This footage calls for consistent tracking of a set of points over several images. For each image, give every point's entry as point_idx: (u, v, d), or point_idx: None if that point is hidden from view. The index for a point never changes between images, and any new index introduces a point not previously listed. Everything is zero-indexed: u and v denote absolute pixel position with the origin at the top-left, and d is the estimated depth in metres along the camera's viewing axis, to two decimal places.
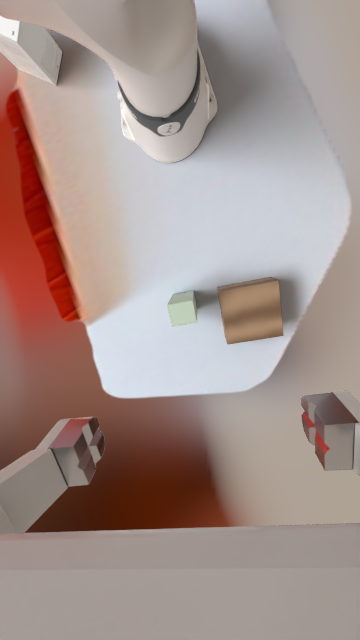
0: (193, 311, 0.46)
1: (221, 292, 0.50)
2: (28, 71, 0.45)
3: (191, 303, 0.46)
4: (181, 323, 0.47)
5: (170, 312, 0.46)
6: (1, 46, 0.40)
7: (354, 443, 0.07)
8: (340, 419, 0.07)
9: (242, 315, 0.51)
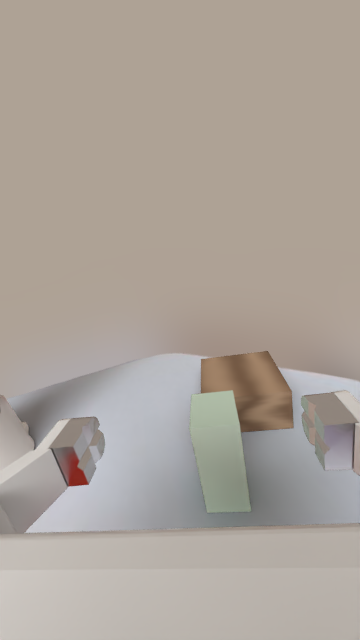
0: (211, 393, 0.26)
1: None
2: None
3: (196, 395, 0.26)
4: (232, 409, 0.23)
5: (206, 424, 0.22)
6: None
7: (354, 443, 0.07)
8: (340, 419, 0.07)
9: (240, 379, 0.36)
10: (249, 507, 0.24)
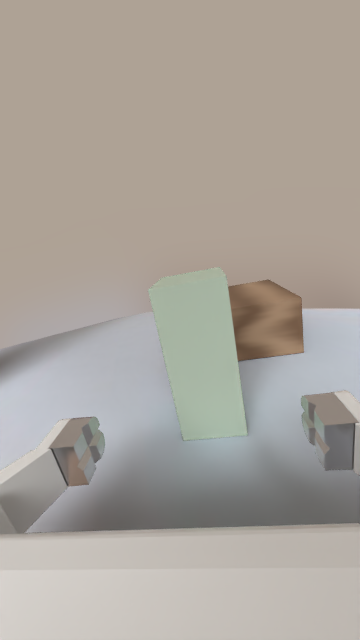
0: (189, 273, 0.18)
1: None
2: None
3: (168, 277, 0.18)
4: (217, 272, 0.15)
5: (174, 284, 0.14)
6: None
7: (354, 443, 0.07)
8: (340, 419, 0.07)
9: (234, 298, 0.28)
10: (245, 428, 0.16)
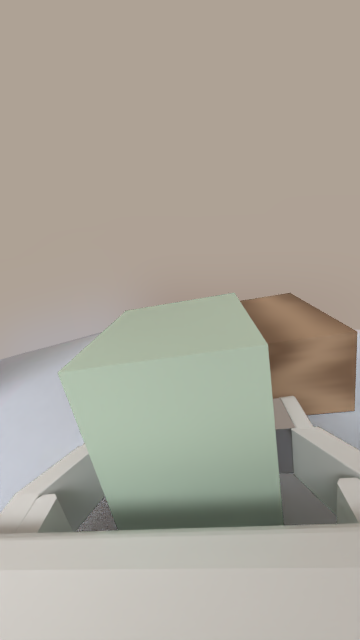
0: (176, 303, 0.09)
1: None
2: None
3: (136, 310, 0.10)
4: (235, 316, 0.07)
5: (128, 357, 0.05)
6: None
7: (292, 448, 0.07)
8: (279, 424, 0.07)
9: None
10: None
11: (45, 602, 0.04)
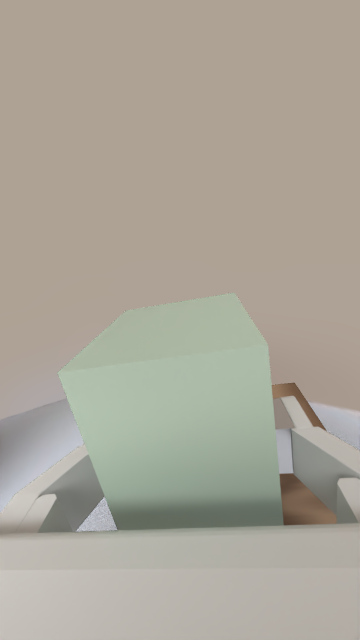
0: (176, 303, 0.09)
1: None
2: None
3: (136, 310, 0.10)
4: (235, 316, 0.07)
5: (128, 357, 0.05)
6: None
7: (292, 448, 0.07)
8: (279, 424, 0.07)
9: None
10: None
11: (45, 602, 0.04)
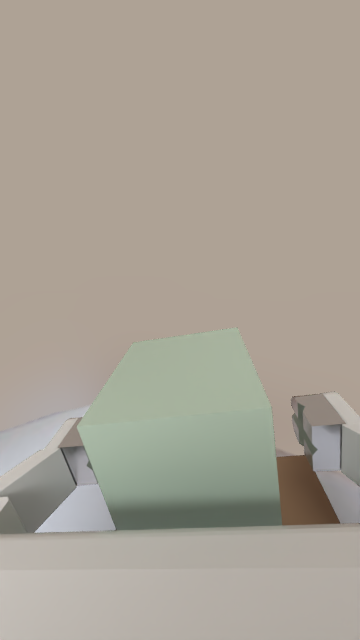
0: (181, 337, 0.10)
1: None
2: None
3: (143, 343, 0.10)
4: (240, 364, 0.07)
5: (142, 411, 0.06)
6: None
7: (342, 444, 0.07)
8: (328, 420, 0.07)
9: None
10: None
11: (45, 602, 0.04)
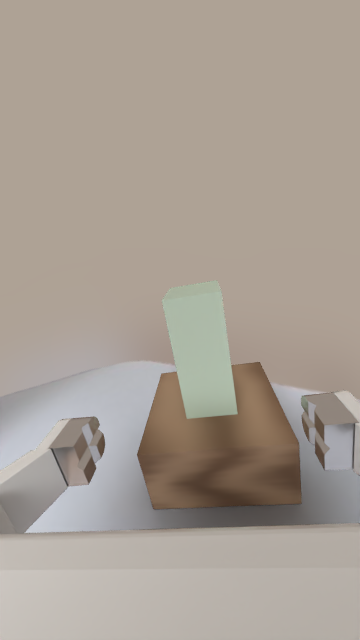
0: (192, 284, 0.22)
1: (141, 450, 0.19)
2: None
3: (175, 288, 0.22)
4: (214, 286, 0.19)
5: (182, 296, 0.18)
6: None
7: (354, 443, 0.07)
8: (340, 419, 0.07)
9: None
10: (235, 408, 0.21)
11: (45, 602, 0.04)
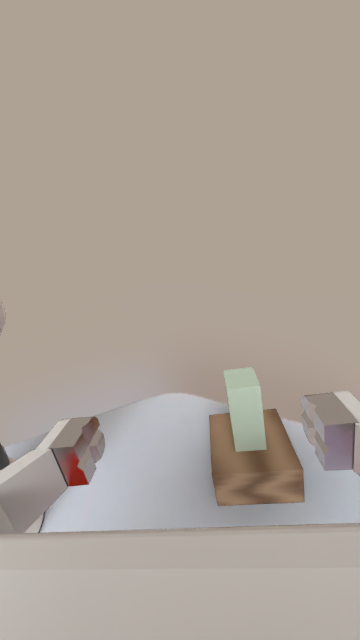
0: (237, 369, 0.37)
1: (213, 472, 0.33)
2: None
3: (227, 371, 0.37)
4: (254, 377, 0.34)
5: (237, 386, 0.33)
6: None
7: (354, 443, 0.07)
8: (340, 419, 0.07)
9: None
10: (265, 446, 0.35)
11: (45, 602, 0.04)
